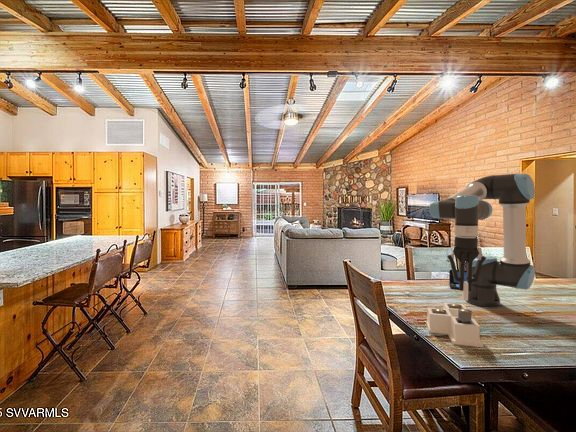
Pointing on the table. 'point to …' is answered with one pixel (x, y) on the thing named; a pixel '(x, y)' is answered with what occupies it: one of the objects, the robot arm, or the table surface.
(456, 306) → the knob
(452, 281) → the handheld game console
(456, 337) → the knob panel
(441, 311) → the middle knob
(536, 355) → the table surface
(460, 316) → the knob
